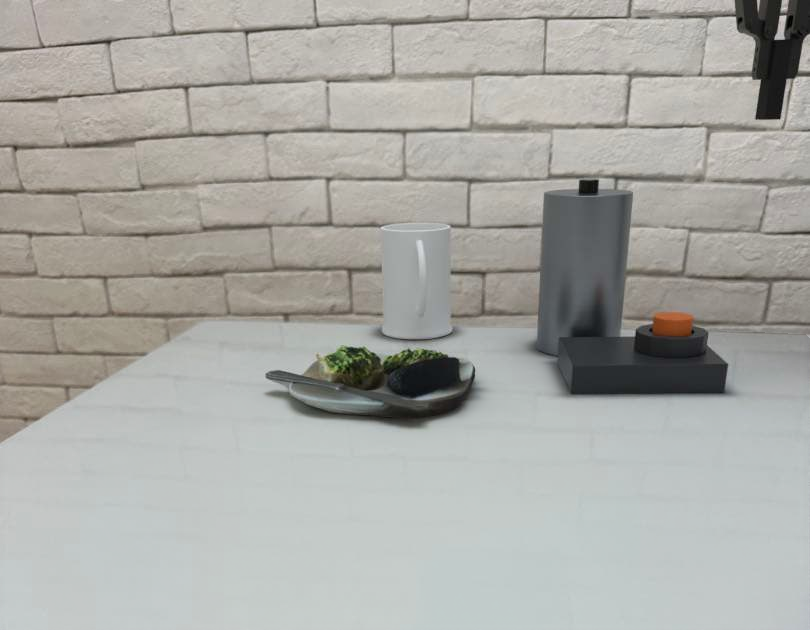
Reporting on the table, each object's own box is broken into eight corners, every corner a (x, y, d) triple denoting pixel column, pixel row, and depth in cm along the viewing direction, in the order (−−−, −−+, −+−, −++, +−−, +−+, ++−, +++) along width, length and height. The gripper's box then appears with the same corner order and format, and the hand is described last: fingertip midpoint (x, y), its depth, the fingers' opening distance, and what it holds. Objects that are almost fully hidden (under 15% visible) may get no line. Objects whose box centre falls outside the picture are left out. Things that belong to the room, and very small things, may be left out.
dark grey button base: (693, 361, 88) (699, 317, 86) (724, 392, 79) (731, 344, 77) (557, 363, 89) (559, 319, 87) (570, 394, 79) (574, 345, 77)
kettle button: (685, 329, 83) (687, 311, 83) (695, 338, 80) (697, 319, 79) (648, 330, 84) (650, 312, 83) (656, 339, 80) (658, 320, 80)
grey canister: (611, 337, 99) (625, 175, 91) (626, 357, 91) (642, 181, 83) (533, 338, 99) (540, 177, 91) (540, 358, 91) (549, 183, 83)
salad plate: (235, 419, 75) (230, 367, 73) (299, 365, 90) (296, 321, 88) (455, 429, 71) (455, 375, 69) (482, 371, 87) (482, 325, 85)
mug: (455, 345, 97) (455, 233, 91) (379, 347, 97) (375, 235, 91) (450, 323, 107) (451, 221, 102) (382, 324, 107) (379, 223, 102)
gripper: (749, -210, 68) (708, 121, 78) (918, -217, 67) (854, 118, 78) (722, -181, 75) (688, 120, 85) (875, -187, 74) (822, 117, 84)
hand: (767, 119), depth 81 cm, fingers closed
